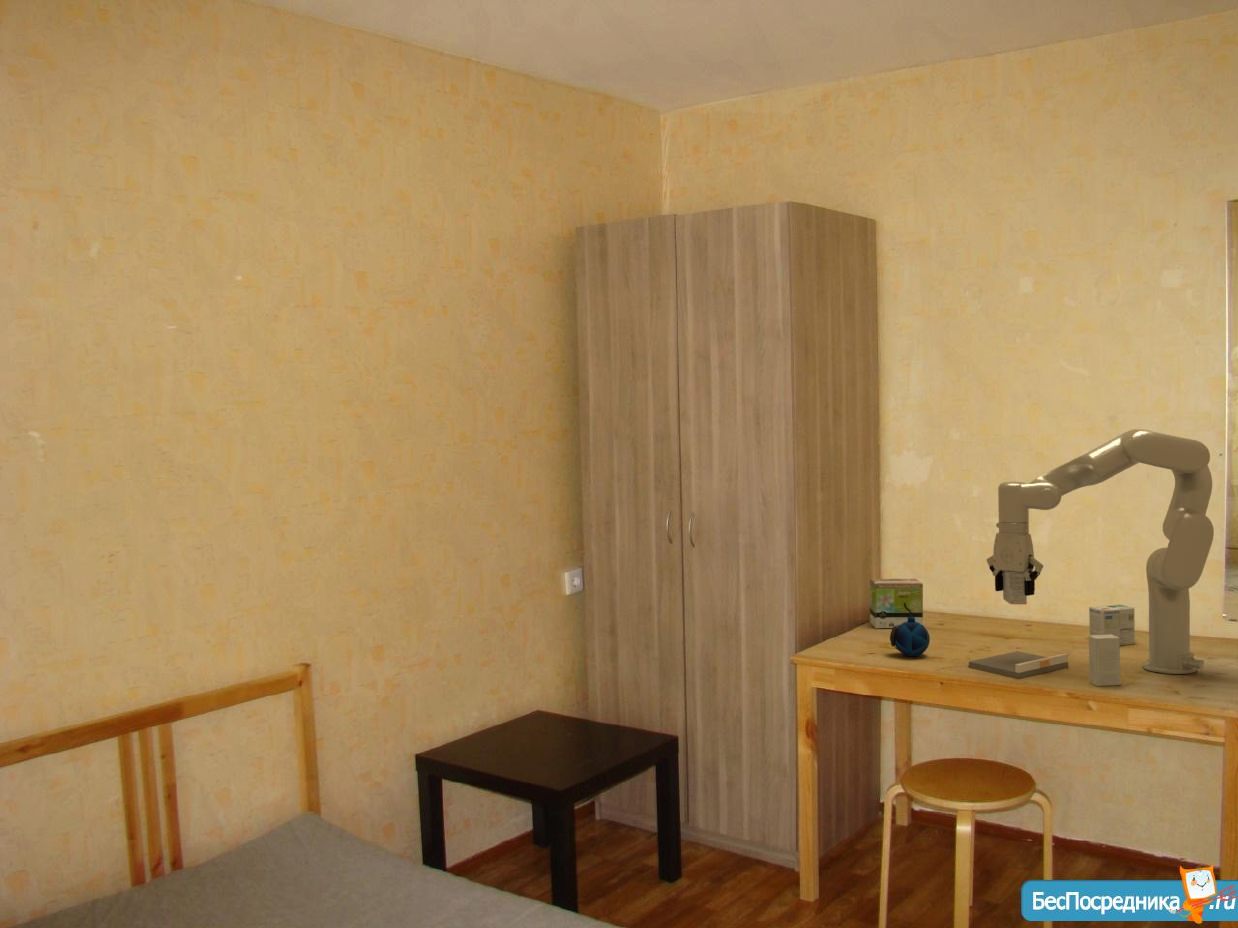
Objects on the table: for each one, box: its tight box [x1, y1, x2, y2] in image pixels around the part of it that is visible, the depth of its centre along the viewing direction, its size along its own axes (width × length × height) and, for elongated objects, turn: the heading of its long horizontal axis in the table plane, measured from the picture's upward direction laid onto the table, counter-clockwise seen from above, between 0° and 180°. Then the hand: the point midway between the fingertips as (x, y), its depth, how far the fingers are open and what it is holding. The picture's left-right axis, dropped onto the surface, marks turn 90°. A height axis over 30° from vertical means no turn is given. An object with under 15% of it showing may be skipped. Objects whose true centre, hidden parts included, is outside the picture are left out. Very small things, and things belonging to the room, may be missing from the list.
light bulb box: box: [1088, 603, 1136, 646], centre depth 313 cm, size 11×7×11 cm, turn 105°
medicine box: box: [1002, 571, 1028, 605], centre depth 288 cm, size 8×4×9 cm, turn 173°
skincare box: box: [1088, 634, 1121, 687], centre depth 269 cm, size 6×4×12 cm
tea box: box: [869, 578, 924, 630], centre depth 347 cm, size 15×10×15 cm, turn 88°
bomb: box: [889, 603, 931, 657], centre depth 305 cm, size 10×11×15 cm
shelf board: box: [968, 651, 1069, 679], centre depth 288 cm, size 17×20×4 cm
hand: (1014, 592), depth 288 cm, fingers closed on medicine box, 9 cm apart
